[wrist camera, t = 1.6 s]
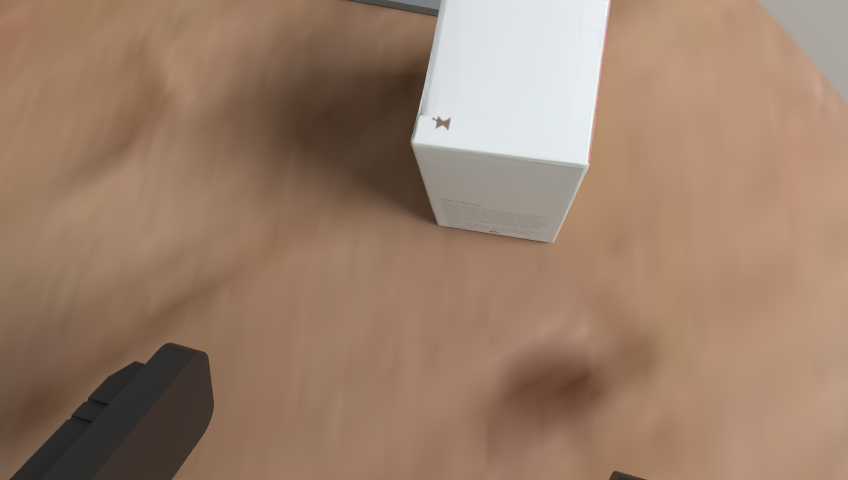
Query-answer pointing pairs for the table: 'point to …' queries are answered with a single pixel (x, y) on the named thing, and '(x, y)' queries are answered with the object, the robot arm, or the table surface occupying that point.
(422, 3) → the mat
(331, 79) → the table surface
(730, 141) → the table surface
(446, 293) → the table surface
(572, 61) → the small box
